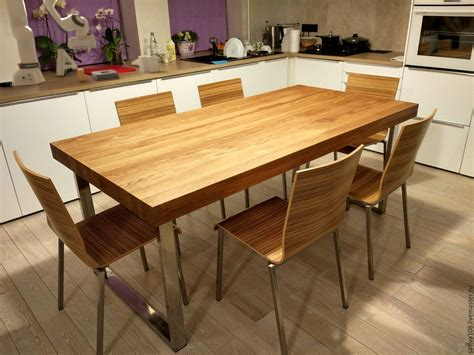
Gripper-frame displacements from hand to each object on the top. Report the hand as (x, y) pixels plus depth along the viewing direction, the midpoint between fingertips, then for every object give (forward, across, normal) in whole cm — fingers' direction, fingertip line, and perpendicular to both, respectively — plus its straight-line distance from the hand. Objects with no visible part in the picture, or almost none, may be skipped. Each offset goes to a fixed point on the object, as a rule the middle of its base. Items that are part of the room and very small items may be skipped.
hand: (81, 52), depth 295 cm
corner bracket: (+3, +46, +24) cm, 52 cm away
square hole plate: (+17, +15, +9) cm, 25 cm away
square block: (+22, 0, +4) cm, 22 cm away
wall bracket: (-6, -21, +32) cm, 39 cm away
